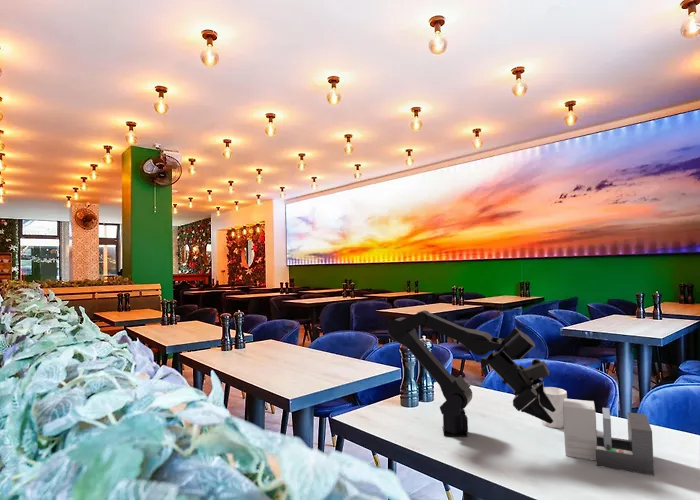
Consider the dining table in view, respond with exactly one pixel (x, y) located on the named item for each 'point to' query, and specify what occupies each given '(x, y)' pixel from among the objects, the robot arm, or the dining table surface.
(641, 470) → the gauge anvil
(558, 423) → the white cup
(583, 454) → the supplement box
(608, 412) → the pad
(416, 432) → the dining table surface
